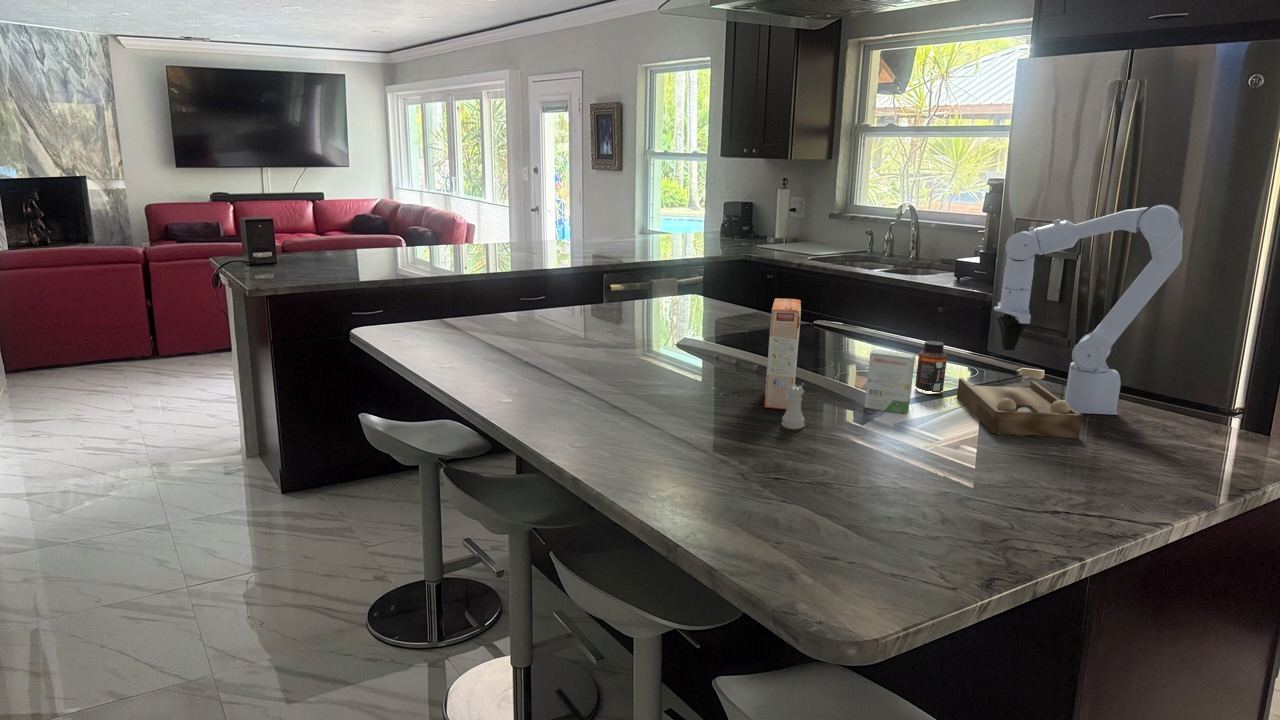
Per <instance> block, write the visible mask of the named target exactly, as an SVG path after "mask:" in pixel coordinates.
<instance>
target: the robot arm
mask: <svg viewBox="0 0 1280 720" xmlns="http://www.w3.org/2000/svg"><path fill="white" fill-rule="evenodd" d="M1148 208H1149V207H1148V206H1147V207H1139V208H1131V209H1125V210H1121V211H1118V212H1114V213H1111V214H1107V215H1104V216H1101V217H1100V216H1099V217H1097V218H1093V219H1090V220H1086V221H1083V222H1080V223H1073V222H1072V221H1070V220H1067V219H1065V220H1061V218H1059V219H1058V218H1057V219H1055V220H1053V221H1052V223H1051V224H1047V225H1044V226H1039V227H1035V226H1031V227H1029V228H1028V231H1026V230H1025V231H1024V230H1023V231H1019V232H1017V233H1014V234H1012V235H1011V236H1010V237H1009V238H1008V239H1007V240H1006V243H1005V252H1006V254H1007V256H1006V260H1005V261H1006V264H1005V265H1004V271H1003V279H1002V288H1001V295H1000V301H998V302H997V306H994V307H993V311H994V312H999V313H1004V314H1003V315H998V316H996V321H997V324H998V327H999V329H1000V330H999V332H1000V336H1001V337H1000V338H1001V339H1000V340H1001V347H1002V350H1004V351H1015V349H1016V347H1017V345H1018V341H1019V339H1020V337H1021V335H1022V333H1023V332H1024V330H1025V329H1026V327H1027V326H1028V325H1029V324H1030V323H1031V318H1032V317H1031V316H1032V315H1031V314H1030V309H1029V307H1030V300H1031V295H1032V294H1031V292H1032V285H1033V277H1034V270H1035V268H1034V265H1035V258H1036V257H1035V256H1036V254H1037V255H1040V256H1042V255H1046V254H1051V253H1053V252H1058V251H1063V250H1066V249H1070V248H1073V247H1074V246H1075V245H1076V243H1077V242H1078V241H1079V240H1080V239H1084V238H1090V237H1093V236H1099V235H1101V234H1102V235H1103V234H1107V233H1111V232H1115V231H1119V230H1120V231H1121V230H1123V231H1127V232H1130V233H1134V234H1136V233H1137V232H1139V230H1140V232H1141V234H1142V235H1143V237H1144V238H1145V240H1146V241H1147V242H1148V246H1149V250H1150V254H1151V260H1149V262H1148V263H1147V265H1146V266H1145V267H1144V268H1143V270H1142V271H1141V272H1140V273H1139V274H1138V275H1137V277H1136V278H1135V280H1133V282H1132V283H1131V284H1130V285H1129V287H1128V288H1127V289H1126V290H1125V292H1123V294H1122V295H1121V297H1120V298H1119V299H1118V300H1117V302H1116V303H1115V304H1114V306H1113V307H1112V308H1111V309H1110V310H1109V311H1108V313H1107V315H1105V316H1104V318H1102V320H1101V321H1100V323H1099V324H1098V325H1097V326H1096V328H1095V329H1094V330H1093V331H1092V332H1090V333H1088V334H1085V335H1084V336H1082V337H1081V338H1080V340H1079V341H1078V343H1076V345H1074V347H1073V349H1072V351H1071V352H1072V353H1071V359H1072V362H1070V364H1069V370H1068V375H1067V383H1066V389H1065V395H1064V396H1065V397H1064V399H1062V400H1063V401H1065V402H1067V403H1068V405H1069V406H1070V407H1071V408H1073V409H1074V410H1076V411H1077V412H1078V413H1080V414H1093V415H1111V416H1112V415H1114V416H1115V415H1118V414H1119V413H1118V412H1117V409H1118V408H1117V407H1118V402H1119V398H1120V391H1121V383H1122V382H1121V376H1120V373H1119V372H1118V371H1117V370H1116V369H1114V368H1113V369H1111V368H1110V367H1109V365H1108V364H1107V362H1106V360H1107V358H1108V357H1109V356H1110V354H1111V352H1112V346H1113V345H1114V344H1115V342H1116V341H1117V340H1118V339H1119V337H1120V336H1121V335H1122V334H1123V332H1124V331H1125V330H1126V329H1127V327H1128V326H1129V325H1130V324H1131V323H1132V321H1133V320H1134V319H1135V318H1136V317H1137V315H1138V314H1139V313H1140V312H1141V311H1142V310H1143V309H1144V307H1145V306H1146V305H1147V303H1148V302H1149V301H1150V300H1151V298H1153V297H1154V295H1155V294H1156V293H1157V292H1158V290H1160V287H1162V286H1163V284H1164V283H1165V282H1166V281H1167V279H1168V278H1169V277H1170V276H1171V275H1172V274H1173V272H1174V271H1175V270H1176V268H1177V267H1179V265H1180V263H1182V258H1183V240H1184V239H1183V235H1184V234H1183V233H1184V225H1183V222H1182V219H1181V216H1180V213H1179V212H1178V210H1177V209H1175V208H1174V207H1173V206H1171V205H1169V204H1157V205H1154V206H1152V207H1150V208H1149V209H1148Z"/></svg>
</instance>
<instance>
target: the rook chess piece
mask: <svg viewBox="0 0 1280 720" xmlns="http://www.w3.org/2000/svg"><path fill="white" fill-rule="evenodd" d="M787 392H788V394H789V397H788V398H787V399H788V406H787V410H785V412H784V415H782V418H781V420H782V422H781V425H782V427H784V429H789V430H801V429H802V428H804V427H805V417H804V416H803V415H804V413H802V406H801V405H802V401H803V398H802V395H803V394H804V393H805V391H804V389H803V386H802V385H799V384H798V385H797V384H795V385H794V387H793V385H790V386H789V388H788V390H787Z"/></svg>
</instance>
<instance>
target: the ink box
mask: <svg viewBox="0 0 1280 720" xmlns="http://www.w3.org/2000/svg"><path fill="white" fill-rule="evenodd" d="M868 360H869V362H868V370H867V371H868V373H867V380H866V391H865V402H864V408H865V409H870V410H876V411H877V410H878V411H882V412H889V413H896V414H902V415H906V414H907V413H908V412H909V409H910V402H911V393H912V388H913V387H912V385H913V378H914V372H915V371H914V370H915V363H916V354H912V353H905V352H899V351H889V350H883V349H874V350H872V351H871V352H870V353H869V359H868Z"/></svg>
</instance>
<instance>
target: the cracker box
mask: <svg viewBox="0 0 1280 720" xmlns="http://www.w3.org/2000/svg"><path fill="white" fill-rule="evenodd" d="M801 303H802V300H800V299H796V298H778V297H777V298H774V301H773V304H772V308H771V316H770V328H769V339H768V350H767V351H768V353H767V354H768V355H767V363H766V366H767V367H766V376H765V377H766V378H765V389H764V390H765V394H764V408H765V409H766V408H768V409H773V410H774V409H775V410H785V411H786V410H787V406H788V399H787V398H788V397H789V394H788V392H787V390H788V388H789V386H790V385H793V387H794V385H796V375H797V364H798V352H799V351H798V350H799V344H800V343H799V342H800V331H801V330H800V329H801V328H800V327H801V317H802V316H801V313H802V312H801V311H802V307H801V305H802V304H801Z"/></svg>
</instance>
